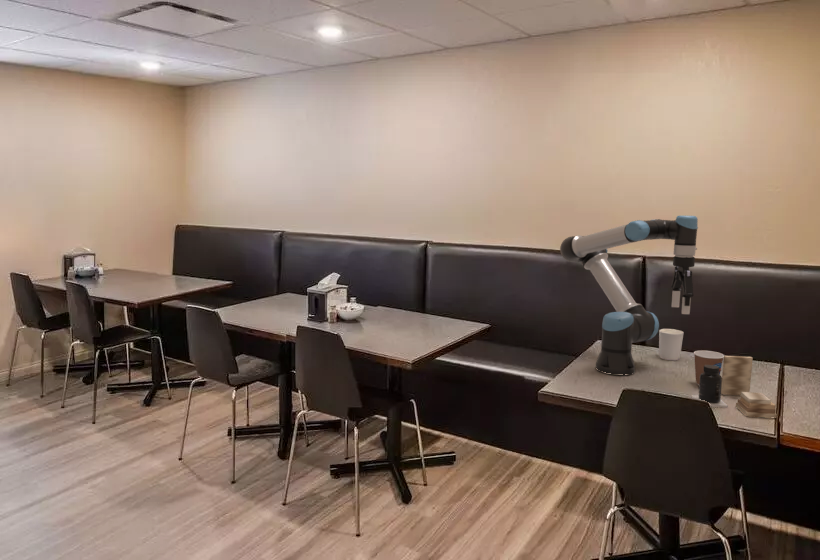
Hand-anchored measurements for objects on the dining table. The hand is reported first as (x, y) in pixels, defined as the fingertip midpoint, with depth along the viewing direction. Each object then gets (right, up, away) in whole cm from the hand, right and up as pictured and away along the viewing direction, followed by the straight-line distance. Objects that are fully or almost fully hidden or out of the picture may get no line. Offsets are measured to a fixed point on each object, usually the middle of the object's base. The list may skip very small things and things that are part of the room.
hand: (680, 310), depth 225 cm
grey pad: (-1, -31, -24) cm, 39 cm away
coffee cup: (+8, -28, -5) cm, 29 cm away
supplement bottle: (-1, -30, -24) cm, 38 cm away
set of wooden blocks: (+10, -31, -27) cm, 42 cm away
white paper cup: (+9, -23, +31) cm, 39 cm away
